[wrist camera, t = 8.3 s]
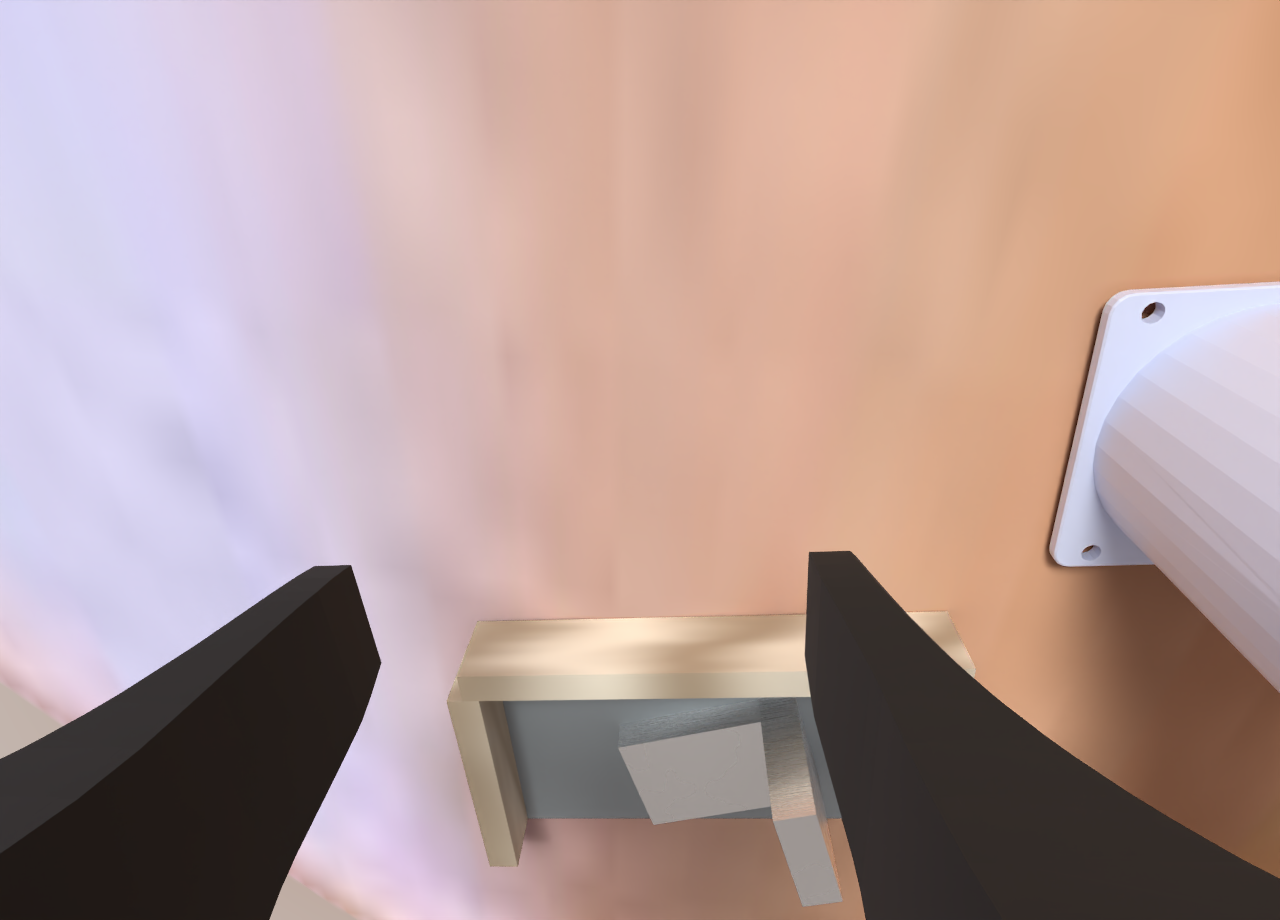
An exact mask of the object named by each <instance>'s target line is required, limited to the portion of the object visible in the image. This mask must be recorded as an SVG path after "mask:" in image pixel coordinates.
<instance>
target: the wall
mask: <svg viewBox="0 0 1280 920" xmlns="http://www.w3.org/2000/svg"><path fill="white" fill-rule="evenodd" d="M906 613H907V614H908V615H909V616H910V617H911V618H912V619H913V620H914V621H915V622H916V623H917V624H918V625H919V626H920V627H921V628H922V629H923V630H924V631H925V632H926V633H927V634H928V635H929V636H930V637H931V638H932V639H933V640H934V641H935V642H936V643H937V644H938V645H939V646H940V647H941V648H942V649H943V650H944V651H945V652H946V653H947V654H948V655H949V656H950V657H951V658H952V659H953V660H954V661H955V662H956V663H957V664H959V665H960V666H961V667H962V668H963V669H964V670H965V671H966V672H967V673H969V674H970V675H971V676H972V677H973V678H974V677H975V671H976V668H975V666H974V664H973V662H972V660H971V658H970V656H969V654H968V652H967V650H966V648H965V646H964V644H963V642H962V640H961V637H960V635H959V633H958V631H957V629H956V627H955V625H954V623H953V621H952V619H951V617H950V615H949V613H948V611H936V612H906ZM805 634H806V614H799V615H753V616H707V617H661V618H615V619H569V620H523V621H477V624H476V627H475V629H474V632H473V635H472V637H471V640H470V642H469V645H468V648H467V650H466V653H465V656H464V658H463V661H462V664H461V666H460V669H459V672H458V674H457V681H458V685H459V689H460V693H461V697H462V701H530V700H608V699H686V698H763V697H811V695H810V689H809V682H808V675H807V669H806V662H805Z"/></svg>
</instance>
